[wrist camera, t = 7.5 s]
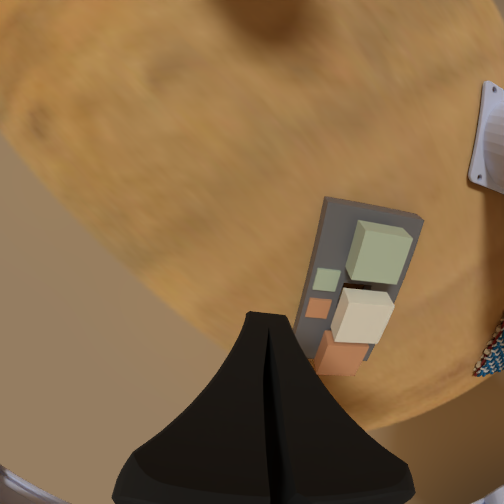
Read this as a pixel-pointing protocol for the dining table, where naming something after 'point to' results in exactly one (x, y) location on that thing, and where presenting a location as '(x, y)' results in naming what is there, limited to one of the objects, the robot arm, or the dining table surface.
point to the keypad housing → (342, 265)
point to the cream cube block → (361, 316)
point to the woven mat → (492, 354)
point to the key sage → (378, 252)
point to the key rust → (338, 356)
